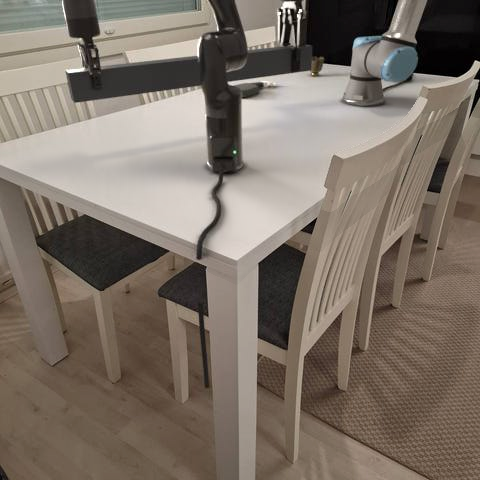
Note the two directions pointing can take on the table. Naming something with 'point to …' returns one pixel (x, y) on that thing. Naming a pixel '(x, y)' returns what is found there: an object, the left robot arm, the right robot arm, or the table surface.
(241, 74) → the bar
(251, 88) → the spray bottle
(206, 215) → the table surface
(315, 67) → the cup
